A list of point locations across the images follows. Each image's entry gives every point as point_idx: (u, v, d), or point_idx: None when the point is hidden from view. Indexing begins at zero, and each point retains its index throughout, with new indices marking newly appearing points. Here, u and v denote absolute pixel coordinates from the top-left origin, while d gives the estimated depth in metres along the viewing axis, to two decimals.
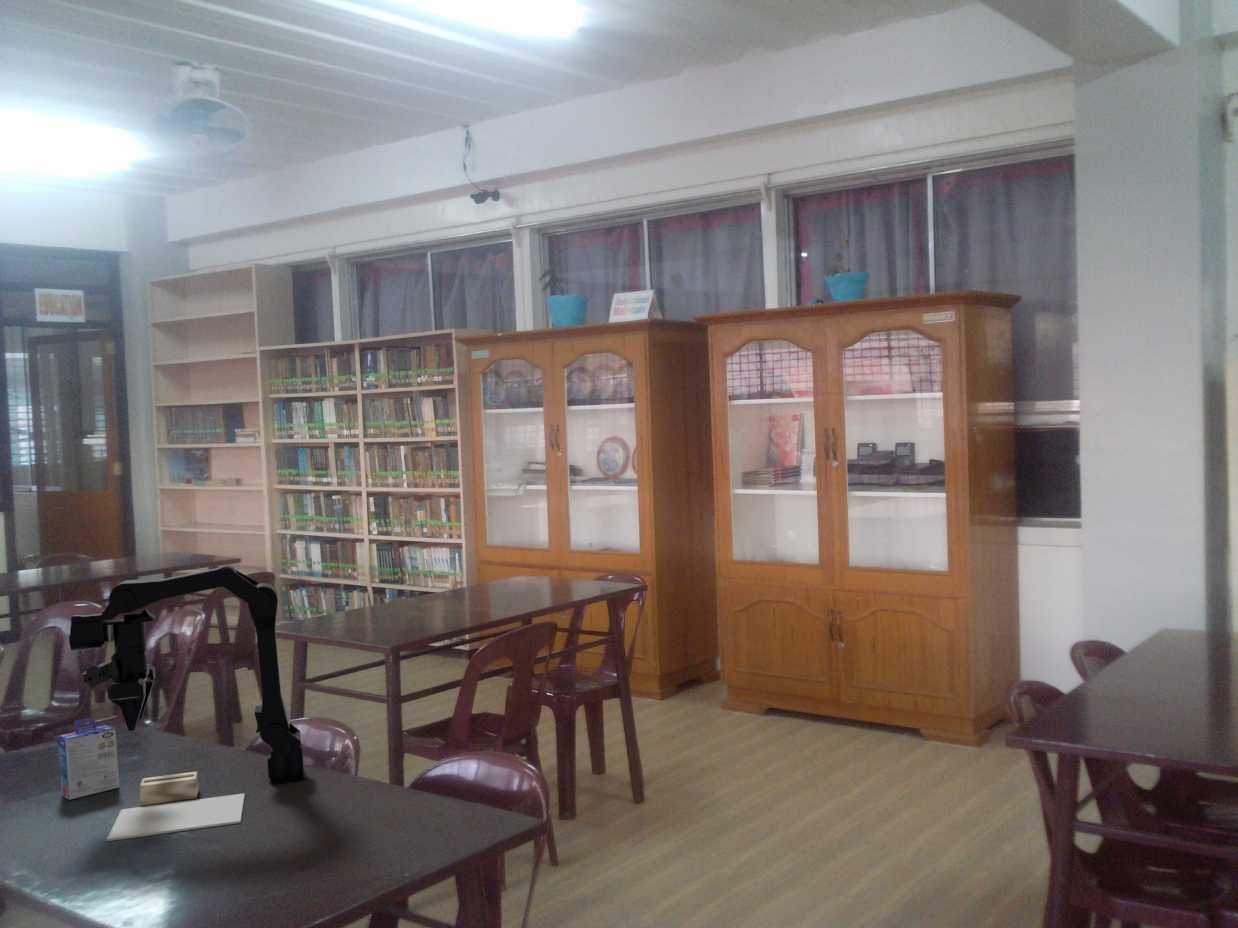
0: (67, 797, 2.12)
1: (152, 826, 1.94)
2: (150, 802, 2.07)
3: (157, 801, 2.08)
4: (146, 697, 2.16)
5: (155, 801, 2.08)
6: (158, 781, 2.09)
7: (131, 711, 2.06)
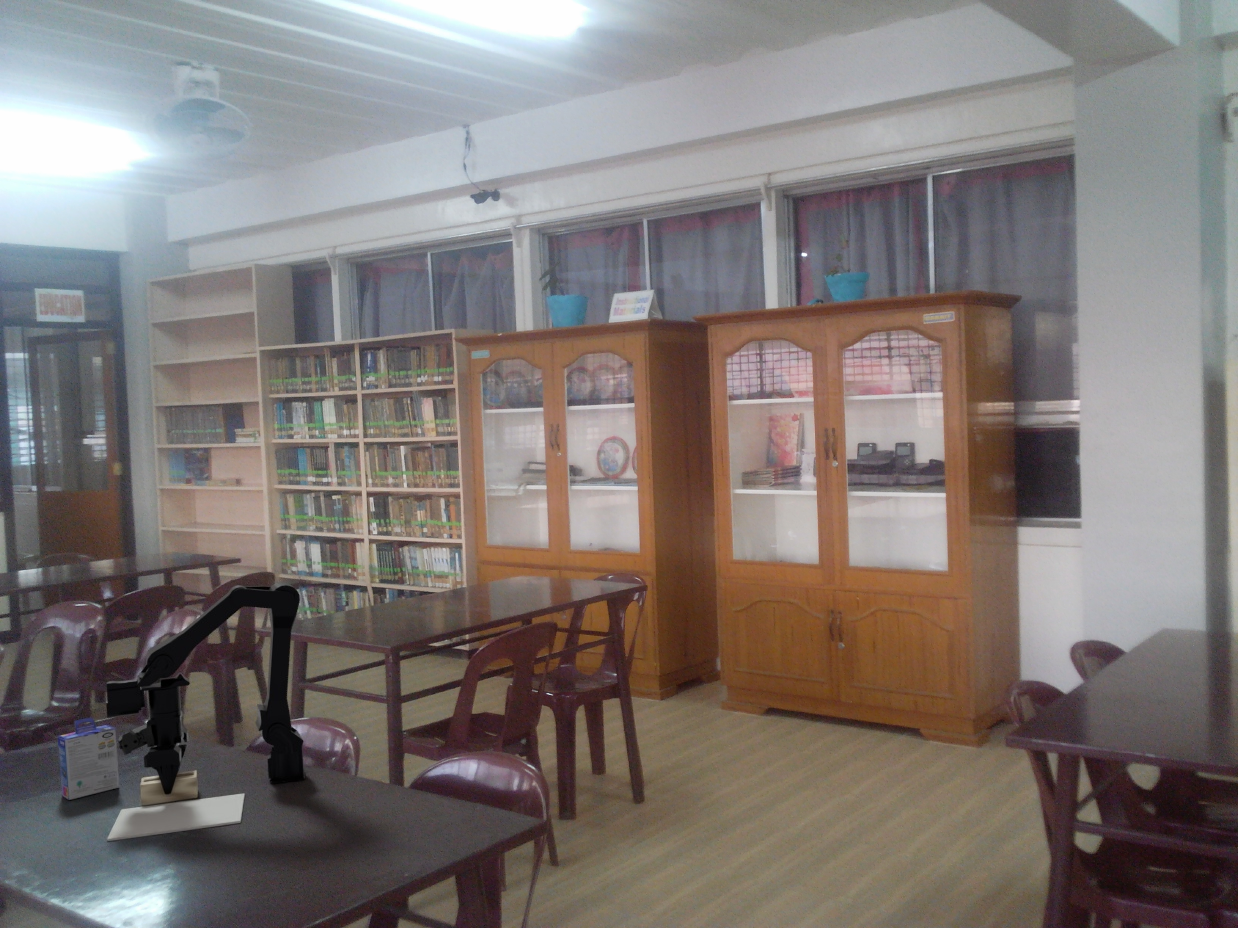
0: (67, 797, 2.12)
1: (152, 826, 1.94)
2: (151, 801, 2.07)
3: (158, 800, 2.08)
4: (179, 763, 2.14)
5: (156, 800, 2.08)
6: (158, 780, 2.09)
7: (168, 775, 2.07)
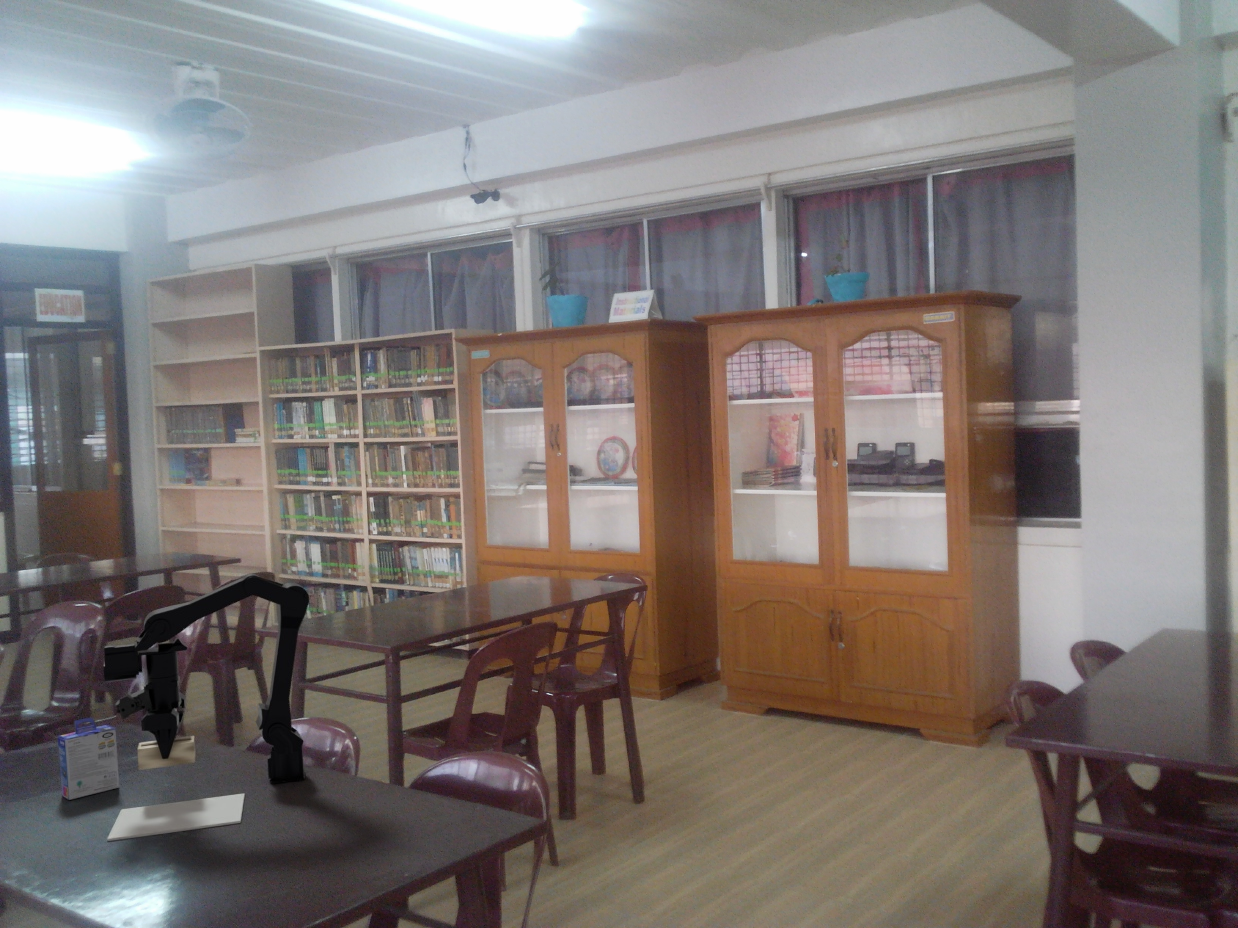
0: (67, 797, 2.12)
1: (152, 826, 1.94)
2: (148, 765, 2.07)
3: (155, 764, 2.07)
4: None
5: (153, 764, 2.07)
6: (156, 745, 2.09)
7: (165, 739, 2.07)
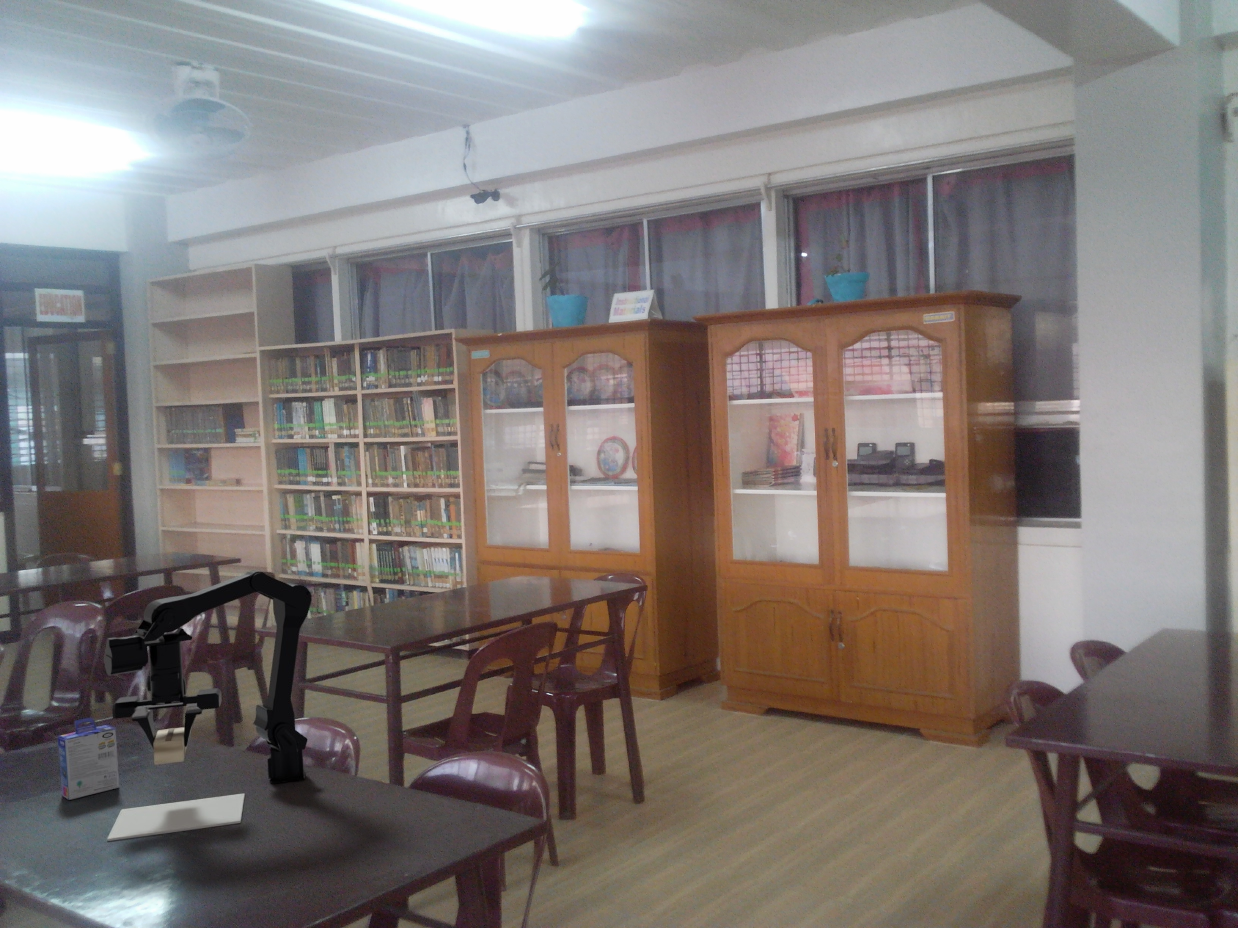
0: (67, 797, 2.12)
1: (152, 826, 1.94)
2: None
3: None
4: None
5: None
6: (164, 733, 2.07)
7: None
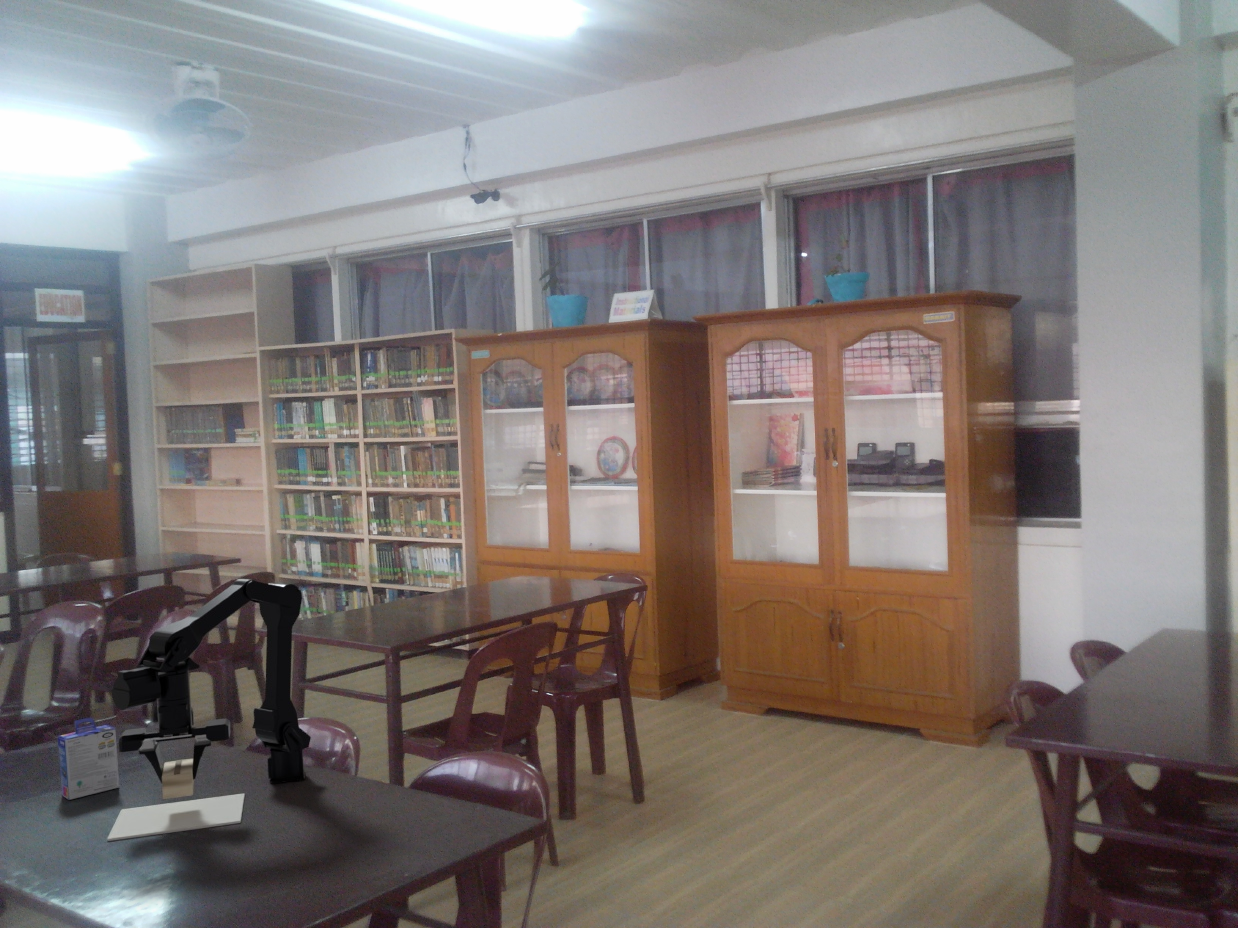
0: (67, 797, 2.12)
1: (152, 826, 1.94)
2: None
3: None
4: (193, 759, 1.99)
5: None
6: (171, 765, 2.01)
7: None
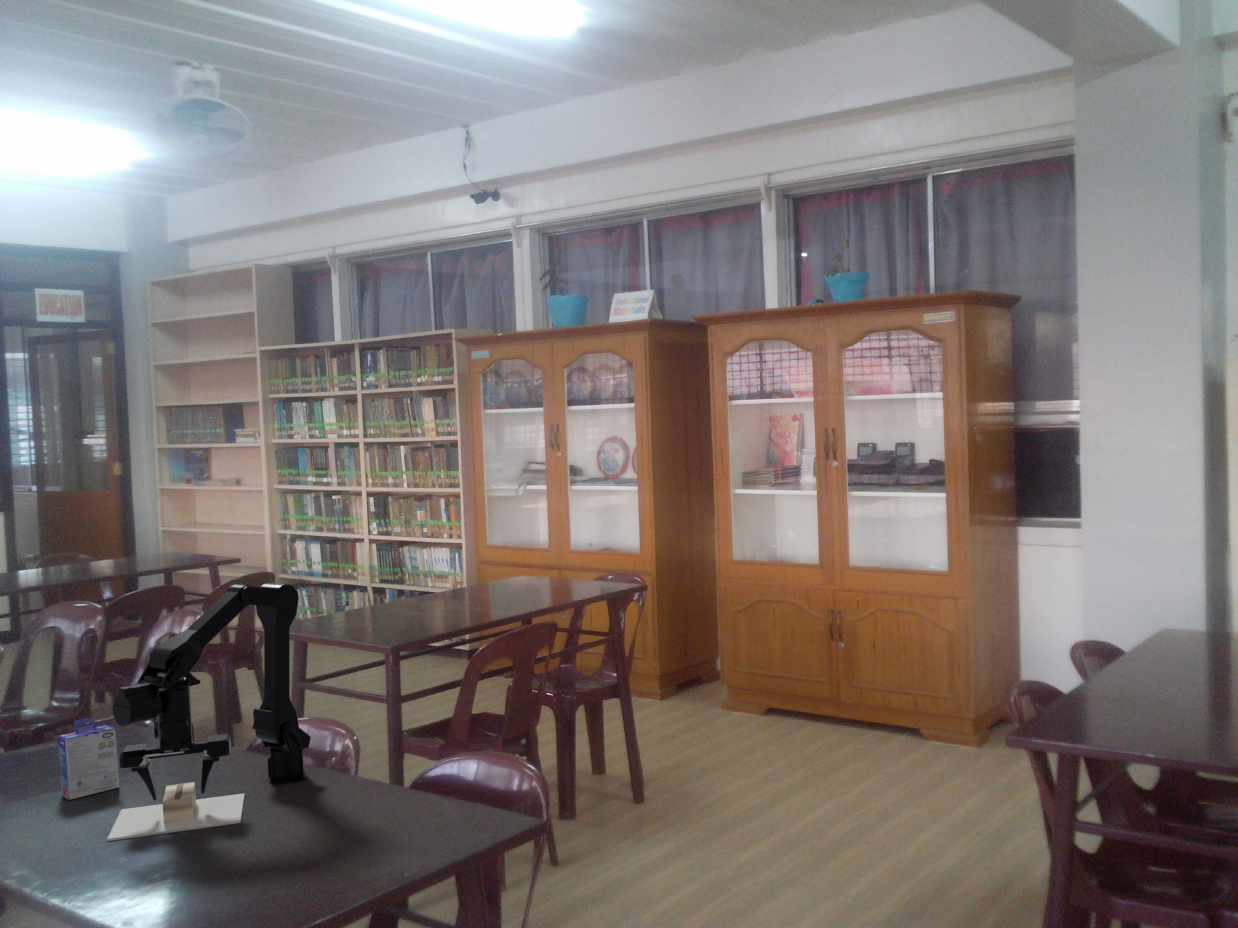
0: (67, 797, 2.12)
1: (152, 826, 1.94)
2: None
3: None
4: None
5: None
6: (173, 789, 2.01)
7: None
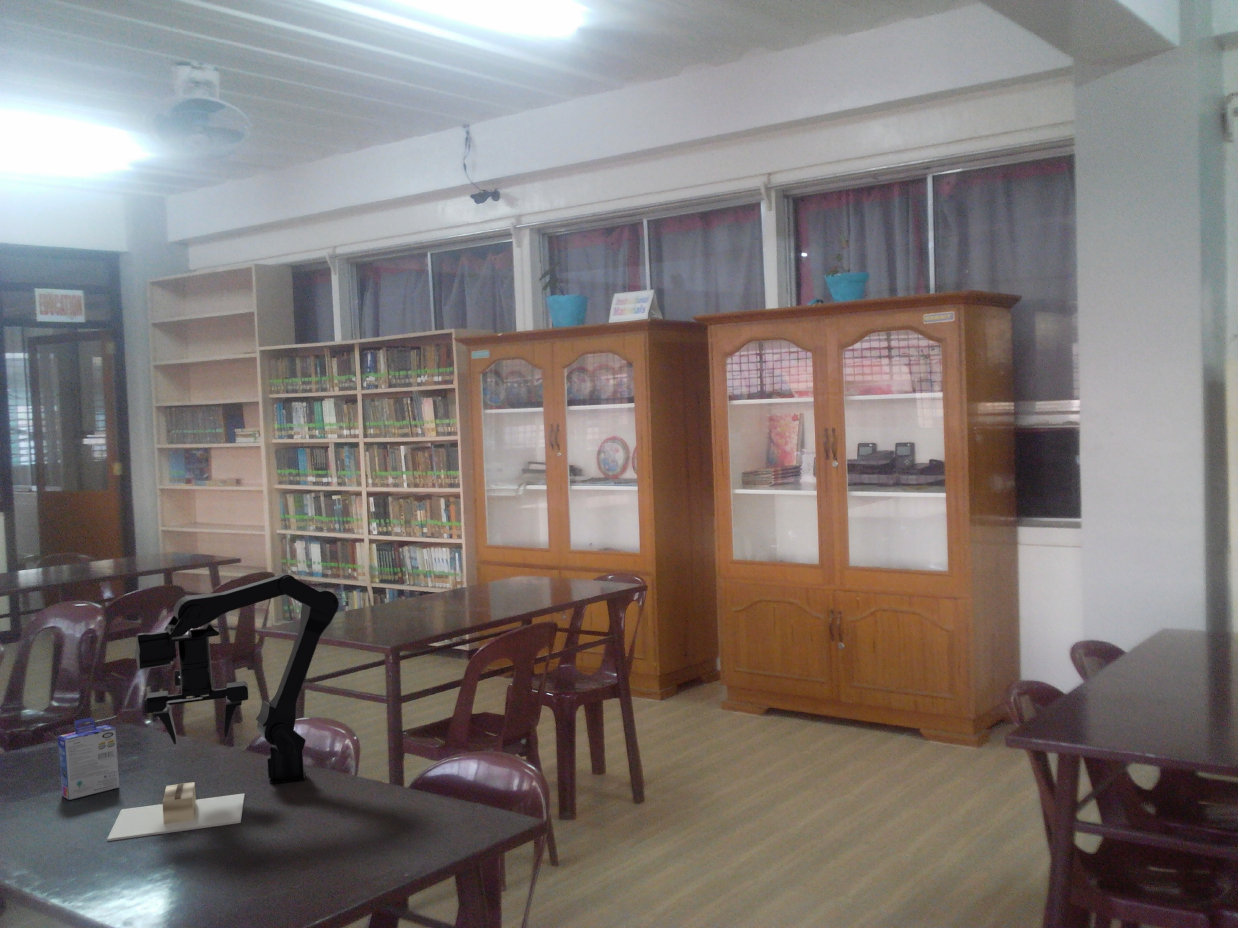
0: (67, 797, 2.12)
1: (152, 826, 1.94)
2: None
3: None
4: None
5: None
6: (173, 789, 2.01)
7: None
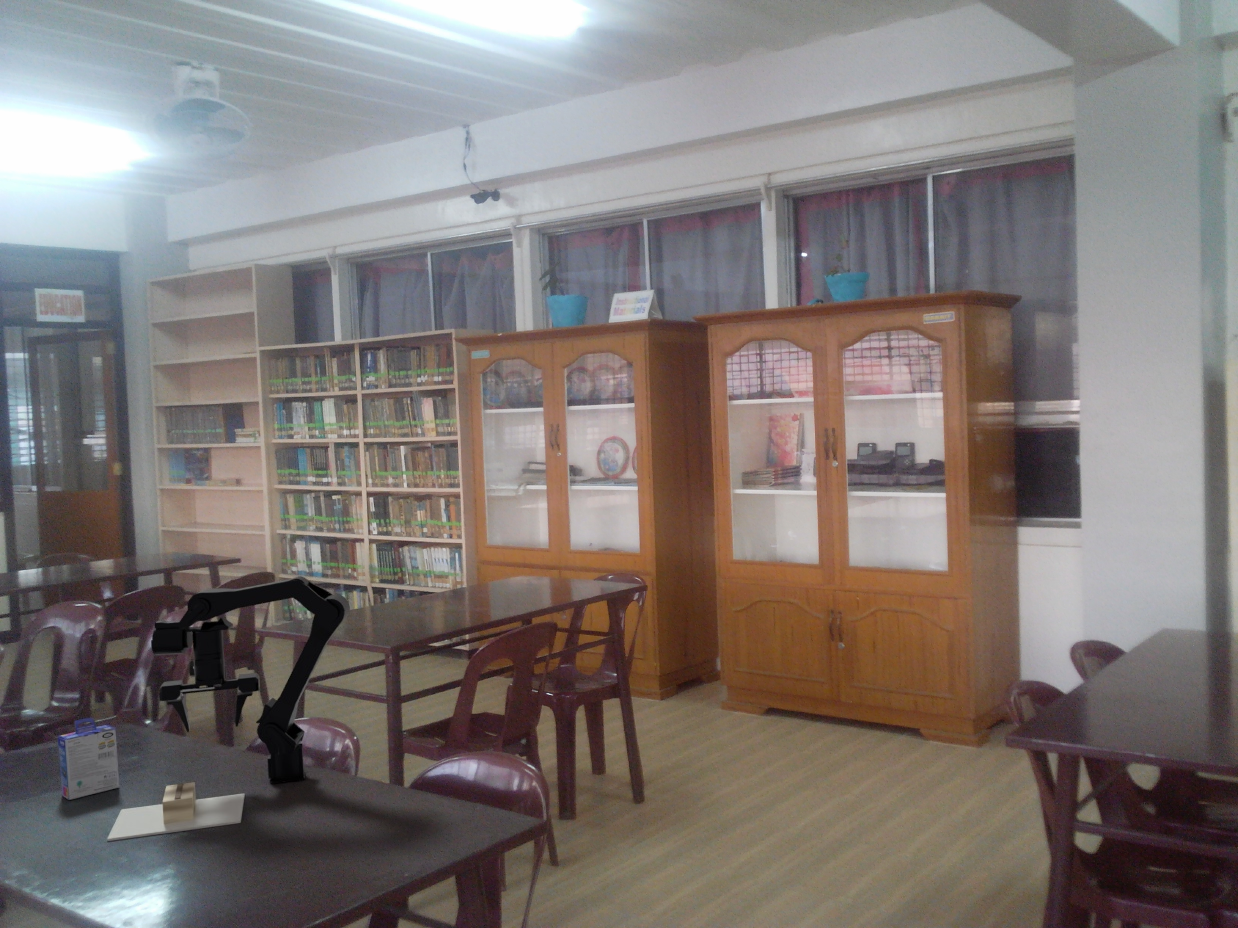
0: (67, 797, 2.12)
1: (152, 826, 1.94)
2: None
3: None
4: (236, 708, 2.18)
5: None
6: (173, 789, 2.01)
7: None
